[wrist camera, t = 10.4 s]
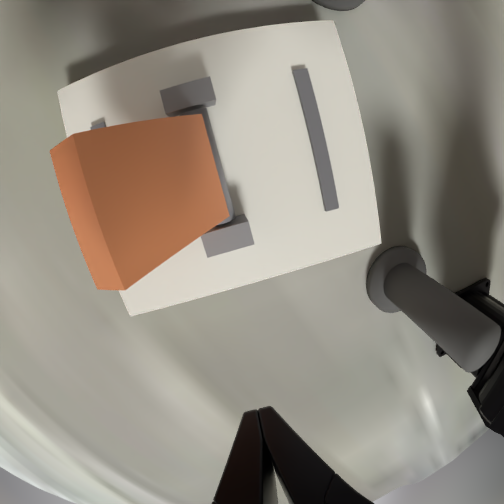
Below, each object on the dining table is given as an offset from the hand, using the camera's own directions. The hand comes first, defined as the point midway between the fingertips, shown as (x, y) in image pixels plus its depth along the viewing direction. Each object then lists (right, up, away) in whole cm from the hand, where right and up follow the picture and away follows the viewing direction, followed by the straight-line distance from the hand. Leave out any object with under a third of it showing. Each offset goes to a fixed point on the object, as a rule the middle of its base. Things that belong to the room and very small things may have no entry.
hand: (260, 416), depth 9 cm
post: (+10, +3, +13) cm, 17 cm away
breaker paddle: (-2, +9, +6) cm, 11 cm away
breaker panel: (-2, +10, +9) cm, 14 cm away
